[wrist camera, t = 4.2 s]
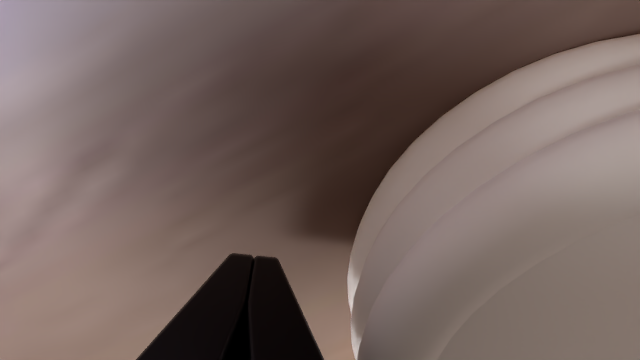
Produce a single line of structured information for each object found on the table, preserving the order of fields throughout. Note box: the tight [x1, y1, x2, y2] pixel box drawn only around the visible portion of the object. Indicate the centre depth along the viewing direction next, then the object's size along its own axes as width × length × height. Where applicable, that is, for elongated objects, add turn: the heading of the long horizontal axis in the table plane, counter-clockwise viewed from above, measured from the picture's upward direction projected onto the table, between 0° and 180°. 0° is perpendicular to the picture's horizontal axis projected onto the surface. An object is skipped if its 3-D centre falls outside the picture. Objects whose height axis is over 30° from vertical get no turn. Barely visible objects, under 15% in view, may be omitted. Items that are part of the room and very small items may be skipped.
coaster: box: [347, 34, 640, 360], centre depth 9 cm, size 10×10×4 cm
